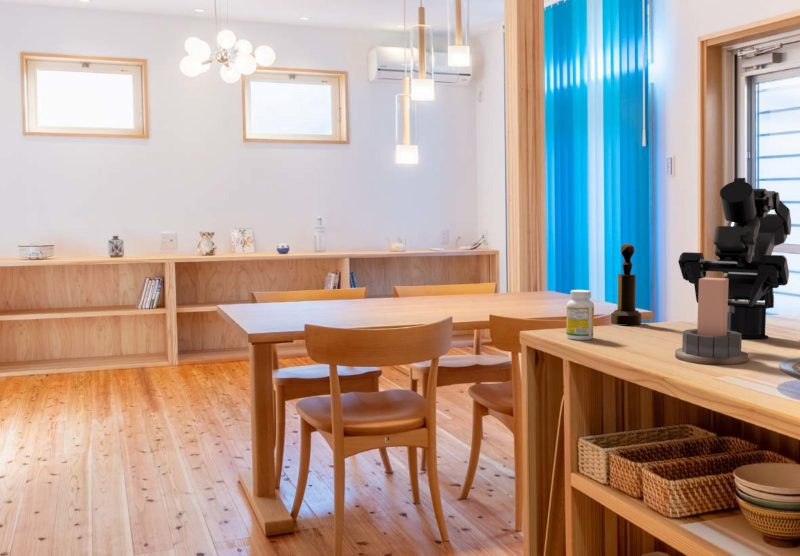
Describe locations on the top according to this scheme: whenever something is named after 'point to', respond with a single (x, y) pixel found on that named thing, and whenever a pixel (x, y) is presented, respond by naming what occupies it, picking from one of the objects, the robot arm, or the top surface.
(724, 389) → the top surface
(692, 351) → the socket
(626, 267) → the dark wooden chess piece
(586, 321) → the supplement bottle
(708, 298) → the terracotta peg
